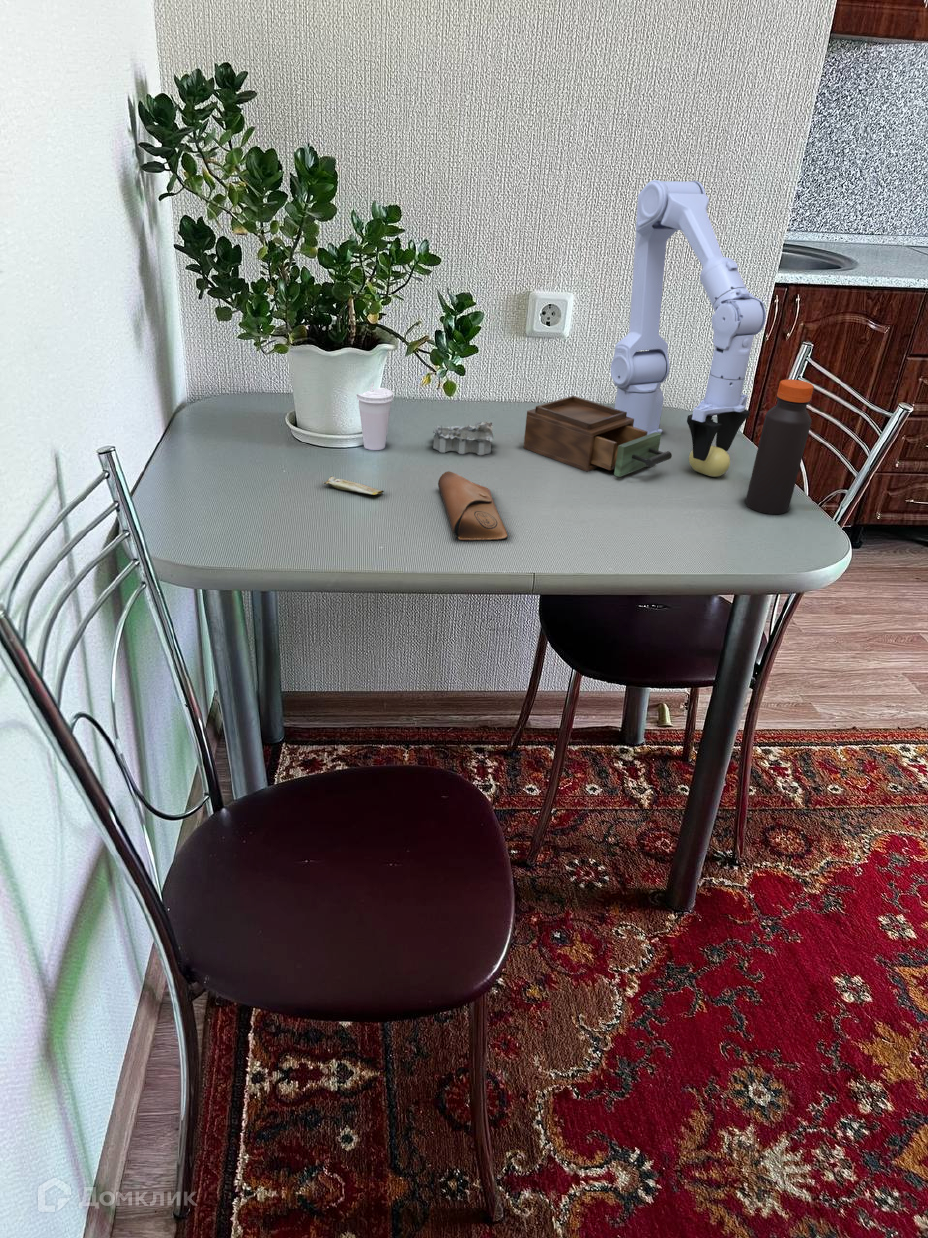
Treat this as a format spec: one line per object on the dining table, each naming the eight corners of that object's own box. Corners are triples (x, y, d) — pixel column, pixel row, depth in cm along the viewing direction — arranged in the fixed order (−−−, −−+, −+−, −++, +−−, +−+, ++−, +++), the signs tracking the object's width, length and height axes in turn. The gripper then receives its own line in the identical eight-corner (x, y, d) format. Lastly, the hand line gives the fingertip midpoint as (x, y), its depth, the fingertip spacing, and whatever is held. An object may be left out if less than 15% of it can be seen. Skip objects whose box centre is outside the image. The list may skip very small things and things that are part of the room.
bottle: (788, 502, 147) (820, 381, 137) (787, 518, 142) (820, 392, 131) (746, 495, 149) (774, 374, 139) (743, 510, 143) (772, 385, 133)
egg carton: (493, 443, 163) (495, 421, 161) (490, 458, 157) (492, 435, 155) (435, 437, 164) (436, 416, 162) (429, 451, 158) (430, 429, 156)
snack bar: (384, 489, 140) (376, 489, 137) (383, 499, 140) (374, 499, 138) (332, 475, 143) (322, 475, 140) (330, 485, 144) (320, 484, 141)
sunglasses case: (512, 536, 128) (491, 499, 125) (469, 560, 129) (447, 524, 126) (489, 488, 144) (470, 454, 140) (450, 509, 144) (431, 475, 141)
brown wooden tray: (572, 400, 165) (573, 395, 165) (626, 417, 159) (627, 412, 158) (535, 411, 159) (535, 406, 158) (589, 429, 152) (590, 424, 151)
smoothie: (356, 439, 161) (356, 361, 154) (392, 440, 162) (393, 362, 154) (355, 452, 155) (355, 371, 148) (393, 453, 156) (394, 372, 149)
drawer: (677, 469, 155) (682, 440, 153) (640, 484, 148) (645, 454, 145) (595, 441, 165) (598, 413, 163) (557, 454, 158) (560, 425, 155)
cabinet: (628, 455, 162) (634, 418, 158) (587, 471, 154) (592, 432, 150) (565, 434, 170) (570, 398, 167) (523, 448, 162) (526, 410, 159)
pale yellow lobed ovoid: (696, 464, 160) (701, 437, 158) (732, 476, 156) (738, 449, 153) (681, 470, 157) (686, 443, 154) (717, 483, 153) (723, 455, 150)
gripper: (726, 388, 141) (709, 470, 148) (770, 373, 150) (752, 451, 157) (687, 377, 145) (672, 458, 152) (732, 364, 154) (716, 440, 161)
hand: (710, 454), depth 155 cm, fingers open, 7 cm apart
